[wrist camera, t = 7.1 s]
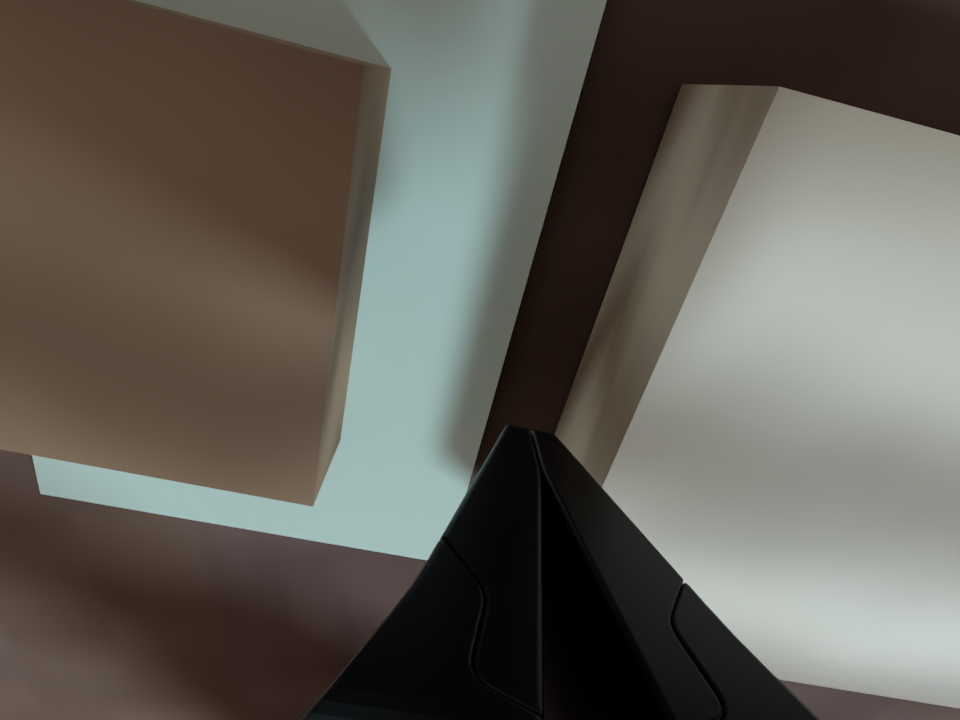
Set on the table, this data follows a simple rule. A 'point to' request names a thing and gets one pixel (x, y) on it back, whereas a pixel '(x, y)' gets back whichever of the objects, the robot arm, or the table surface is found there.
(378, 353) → the sage mat
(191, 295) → the walnut block
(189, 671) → the table surface
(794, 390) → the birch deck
